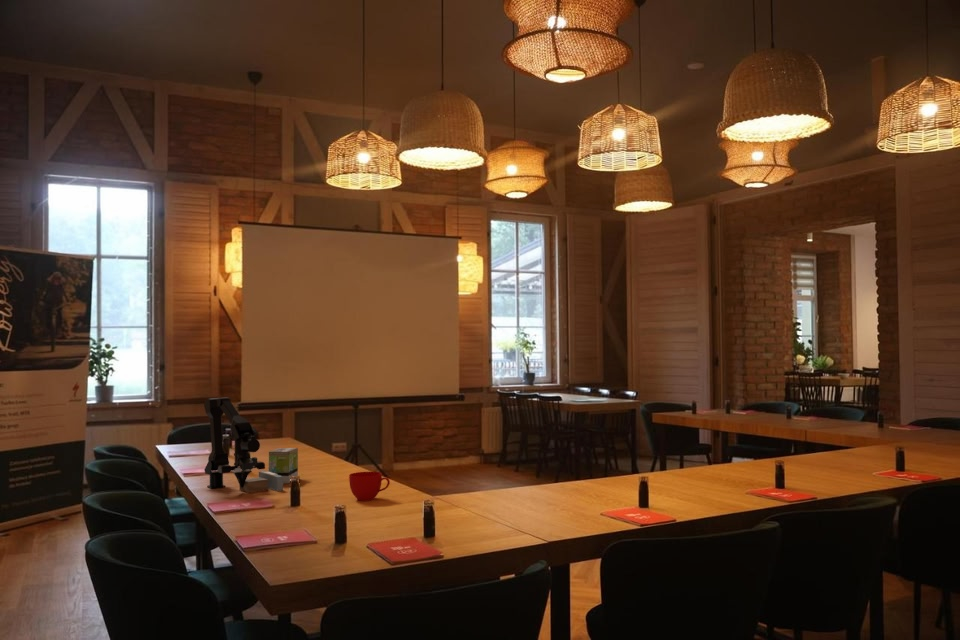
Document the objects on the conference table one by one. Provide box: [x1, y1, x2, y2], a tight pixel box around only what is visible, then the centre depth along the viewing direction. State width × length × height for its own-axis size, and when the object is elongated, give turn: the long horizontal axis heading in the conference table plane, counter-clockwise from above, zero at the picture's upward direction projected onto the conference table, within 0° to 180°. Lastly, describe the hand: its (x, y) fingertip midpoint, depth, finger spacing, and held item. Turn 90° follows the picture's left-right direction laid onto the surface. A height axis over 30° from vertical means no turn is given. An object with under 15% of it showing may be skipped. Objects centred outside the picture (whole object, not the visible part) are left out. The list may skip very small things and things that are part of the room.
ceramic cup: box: [348, 471, 391, 502], centre depth 303 cm, size 13×17×10 cm
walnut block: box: [239, 476, 269, 494], centre depth 331 cm, size 9×9×5 cm
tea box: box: [268, 447, 299, 484], centre depth 354 cm, size 15×10×15 cm, turn 179°
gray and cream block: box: [258, 470, 284, 492], centre depth 337 cm, size 22×3×6 cm, turn 37°
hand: (241, 487), depth 326 cm, fingers closed
